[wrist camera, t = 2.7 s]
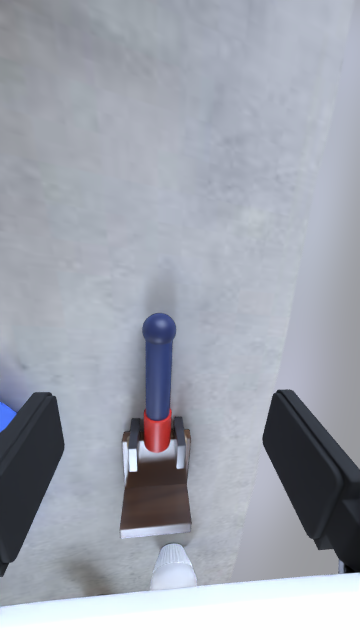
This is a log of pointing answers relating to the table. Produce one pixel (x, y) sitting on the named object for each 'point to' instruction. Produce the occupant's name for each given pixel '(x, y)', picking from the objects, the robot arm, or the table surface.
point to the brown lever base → (155, 484)
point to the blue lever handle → (158, 381)
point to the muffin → (173, 569)
